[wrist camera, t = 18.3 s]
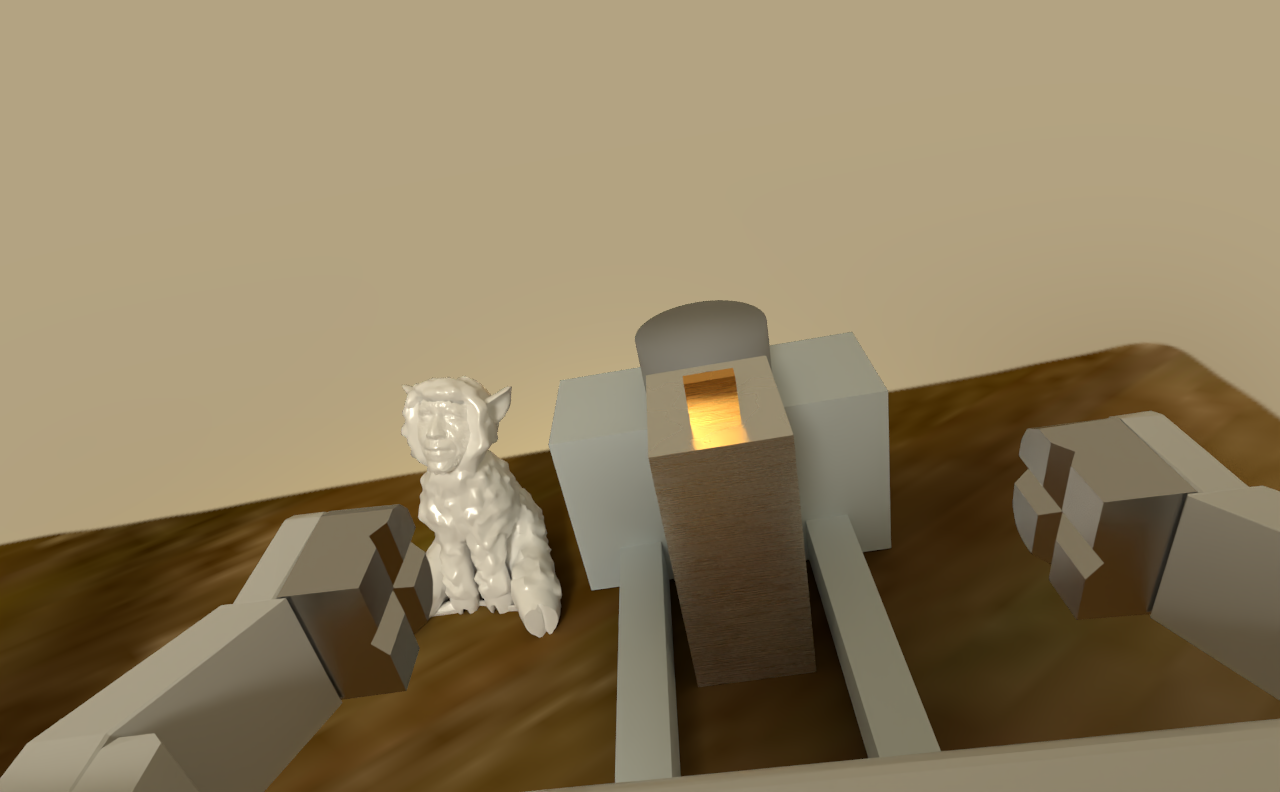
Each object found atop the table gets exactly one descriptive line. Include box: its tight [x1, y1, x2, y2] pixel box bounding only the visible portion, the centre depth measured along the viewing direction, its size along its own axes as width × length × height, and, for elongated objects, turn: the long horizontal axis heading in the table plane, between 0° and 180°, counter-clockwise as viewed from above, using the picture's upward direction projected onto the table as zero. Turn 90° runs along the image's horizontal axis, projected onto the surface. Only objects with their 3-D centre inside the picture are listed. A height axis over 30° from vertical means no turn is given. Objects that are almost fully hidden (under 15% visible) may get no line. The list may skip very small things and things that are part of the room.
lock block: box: [646, 355, 816, 687], centre depth 30 cm, size 5×6×14 cm
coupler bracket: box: [549, 300, 941, 783], centre depth 28 cm, size 15×25×12 cm, turn 1°
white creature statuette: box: [401, 376, 562, 638], centre depth 37 cm, size 10×9×12 cm
